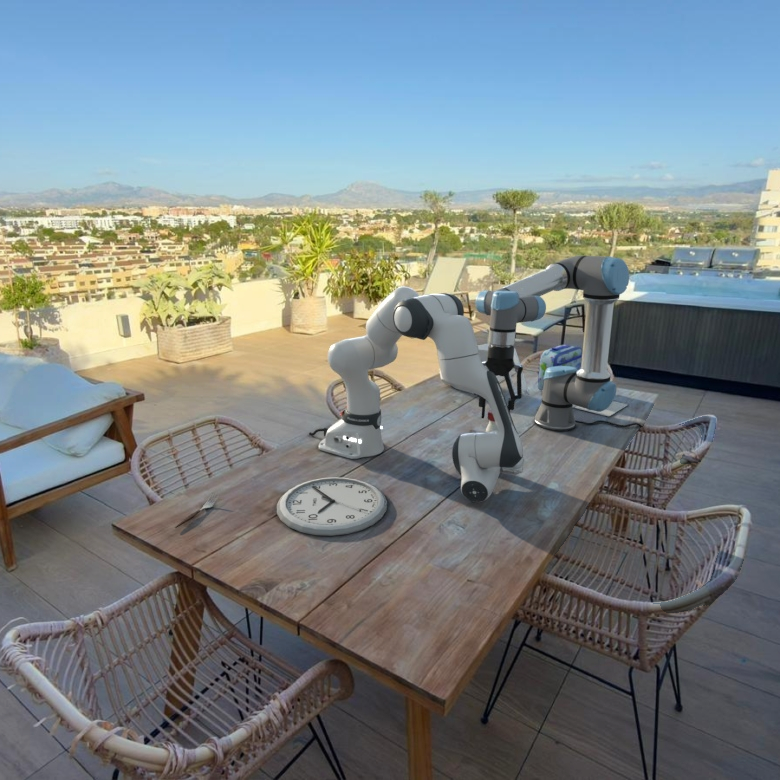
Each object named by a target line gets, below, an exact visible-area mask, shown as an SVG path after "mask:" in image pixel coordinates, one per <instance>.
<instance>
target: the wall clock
mask: <svg viewBox="0 0 780 780" xmlns="http://www.w3.org/2000/svg"><path fill="white" fill-rule="evenodd" d="M387 509H388V500H387V498H386V496H385V494H384V493H383V492H382V491H381V490H380V489H379V488H377V487H376V486H374V485H372V484H371V483H369V482H365V481H362V480H359V479H355V478H349V477H338V476H337V477H335V476H333V477H332V476H331V477H322V478H317V479H312V480H307V481H305V482H302V483H299V484H297V485H295V486H293V487H292V488H290V489H288V490H287V491H286V492H285V493H284V494H283V495H281V496H280V498H279V499H278V502H277V503H276V515H277V517H278V518H279V520H280V521H281V522H282V523H283V524H285V525H286V526H287V527H288V528H290V529H293V530H295V531H297V532H299V533H303V534H308V535H312V536H327V537H328V536H329V537H331V536H332V537H333V536H342V535H350V534H352V533H356V532H361V531H363V530H366V529H368V528H369V527H372V526H373V525H375V524H376V523H378V522H379V521H380V520H381V519H382V518H383V517H384V516H385V514H386V512H387Z"/></svg>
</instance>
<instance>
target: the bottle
mask: <svg viewBox="0 0 780 780" xmlns="http://www.w3.org/2000/svg"><path fill="white" fill-rule="evenodd" d="M497 430H498V428H497V425H496V423H495V422H494V421H490V420H489V422H488V424H487V426H486V428H485V432H490V431H497Z"/></svg>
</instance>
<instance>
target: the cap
mask: <svg viewBox="0 0 780 780" xmlns="http://www.w3.org/2000/svg"><path fill="white" fill-rule="evenodd" d="M487 419H488V420H489V422H490V421H494V422H495V420H494V417H493V414H492V411H491V409H489V410H488V411H487Z"/></svg>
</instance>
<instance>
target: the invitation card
mask: <svg viewBox="0 0 780 780" xmlns="http://www.w3.org/2000/svg"><path fill="white" fill-rule="evenodd" d="M628 406H629V404H627V403H623V402H618V401H614V400H613V401H612V403H611V404H610V406H609V407H608V408H607V409H605V410H604V411H601V412H597V411H593V410H588V409H586V408H583V407H580V406H576V405H575V406H574V407H573V409H575V410H581V411H584V412H587V413H593V414H596V415H600V416H604V417H608V418H609V417H611V416H613V415H614V414H616V413H617V412H619V411H621V410H623V409H624V408H626V407H628Z"/></svg>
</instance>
